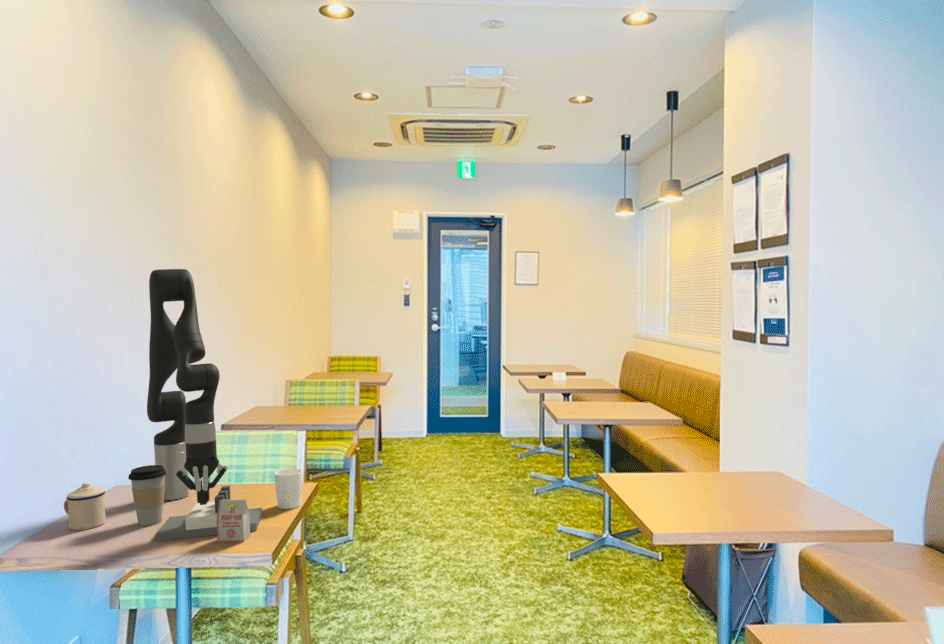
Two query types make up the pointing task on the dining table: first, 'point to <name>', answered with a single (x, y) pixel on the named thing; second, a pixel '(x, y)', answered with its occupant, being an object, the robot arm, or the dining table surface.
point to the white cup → (288, 488)
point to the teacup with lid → (85, 507)
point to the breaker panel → (180, 527)
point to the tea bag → (233, 521)
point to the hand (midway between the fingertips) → (203, 504)
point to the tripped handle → (224, 493)
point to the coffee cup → (148, 493)
